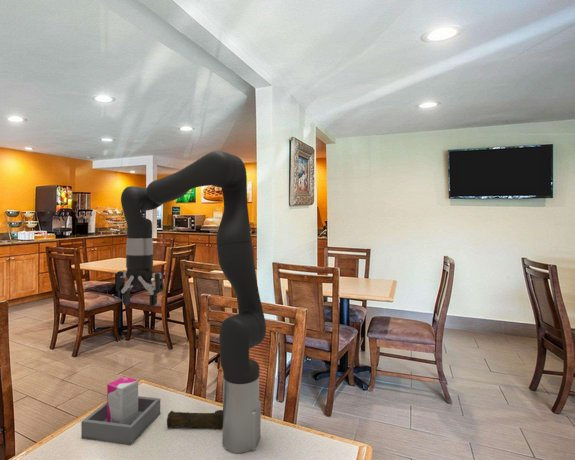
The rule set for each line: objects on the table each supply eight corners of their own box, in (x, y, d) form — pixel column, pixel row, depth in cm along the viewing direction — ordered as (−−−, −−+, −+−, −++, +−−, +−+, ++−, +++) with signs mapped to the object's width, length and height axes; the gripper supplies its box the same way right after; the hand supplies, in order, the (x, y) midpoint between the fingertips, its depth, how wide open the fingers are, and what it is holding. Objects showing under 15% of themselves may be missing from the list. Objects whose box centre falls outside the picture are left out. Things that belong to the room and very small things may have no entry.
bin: (160, 413, 100) (160, 398, 99) (131, 445, 86) (131, 427, 86) (116, 408, 102) (116, 393, 102) (81, 438, 88) (81, 421, 88)
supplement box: (139, 419, 95) (139, 379, 95) (120, 431, 90) (120, 389, 90) (124, 414, 98) (124, 375, 97) (105, 425, 92) (105, 384, 92)
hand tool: (165, 430, 92) (165, 414, 92) (171, 421, 96) (171, 405, 96) (234, 435, 91) (234, 418, 91) (237, 425, 95) (237, 409, 95)
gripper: (167, 252, 106) (167, 304, 107) (126, 250, 108) (125, 301, 109) (154, 255, 99) (154, 310, 100) (110, 253, 101) (110, 307, 102)
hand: (139, 305), depth 104 cm, fingers open, 8 cm apart
